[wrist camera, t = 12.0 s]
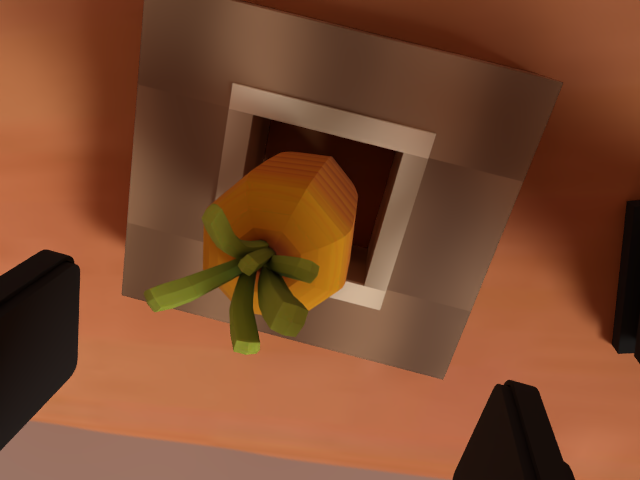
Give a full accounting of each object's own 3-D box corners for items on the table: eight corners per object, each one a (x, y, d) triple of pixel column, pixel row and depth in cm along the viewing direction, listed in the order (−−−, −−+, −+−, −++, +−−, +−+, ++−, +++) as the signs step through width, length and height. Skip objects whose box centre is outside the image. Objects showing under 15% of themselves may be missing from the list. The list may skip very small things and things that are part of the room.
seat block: (535, 73, 23) (565, 83, 19) (436, 333, 28) (443, 382, 24) (184, -14, 23) (143, -22, 19) (155, 260, 29) (119, 296, 25)
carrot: (258, 192, 26) (93, 350, 12) (302, 104, 24) (167, 175, 11) (342, 239, 26) (273, 448, 13) (392, 156, 25) (376, 293, 11)
